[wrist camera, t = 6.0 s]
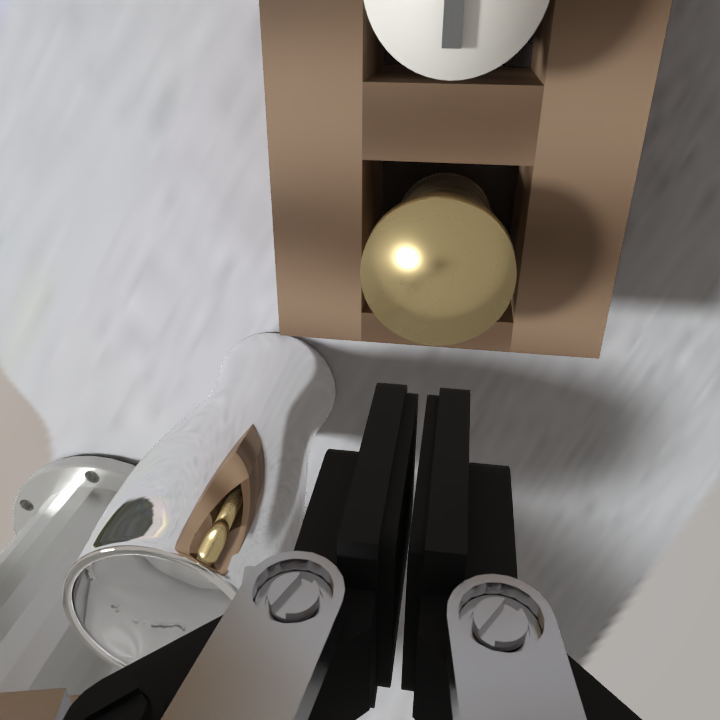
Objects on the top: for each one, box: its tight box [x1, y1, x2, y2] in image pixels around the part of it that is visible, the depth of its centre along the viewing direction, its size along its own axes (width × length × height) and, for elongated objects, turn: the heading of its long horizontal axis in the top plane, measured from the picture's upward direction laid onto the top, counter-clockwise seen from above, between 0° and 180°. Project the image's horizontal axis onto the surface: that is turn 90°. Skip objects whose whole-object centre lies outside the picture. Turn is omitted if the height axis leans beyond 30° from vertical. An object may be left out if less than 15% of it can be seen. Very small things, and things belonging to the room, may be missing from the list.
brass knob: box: [360, 173, 517, 346], centre depth 23 cm, size 5×5×6 cm
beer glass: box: [61, 333, 336, 670], centre depth 27 cm, size 7×7×15 cm
